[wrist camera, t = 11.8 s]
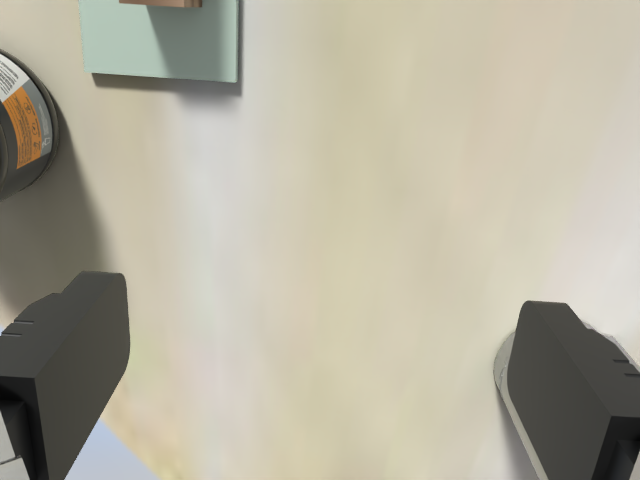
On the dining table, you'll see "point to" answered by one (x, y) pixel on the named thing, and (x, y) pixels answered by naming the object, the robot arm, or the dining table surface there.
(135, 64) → the pin plate
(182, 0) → the block
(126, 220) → the dining table surface
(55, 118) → the supplement container
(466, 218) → the dining table surface
